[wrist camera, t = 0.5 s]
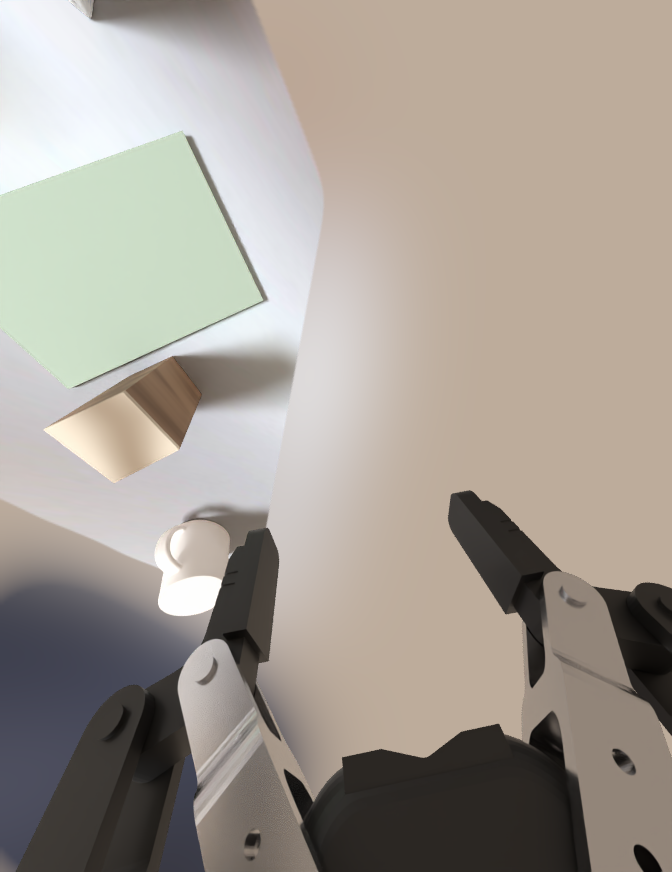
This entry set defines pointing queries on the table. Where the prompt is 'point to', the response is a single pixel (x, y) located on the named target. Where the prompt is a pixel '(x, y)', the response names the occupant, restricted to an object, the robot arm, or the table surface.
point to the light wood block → (131, 421)
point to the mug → (191, 566)
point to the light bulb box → (84, 6)
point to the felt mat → (117, 260)
